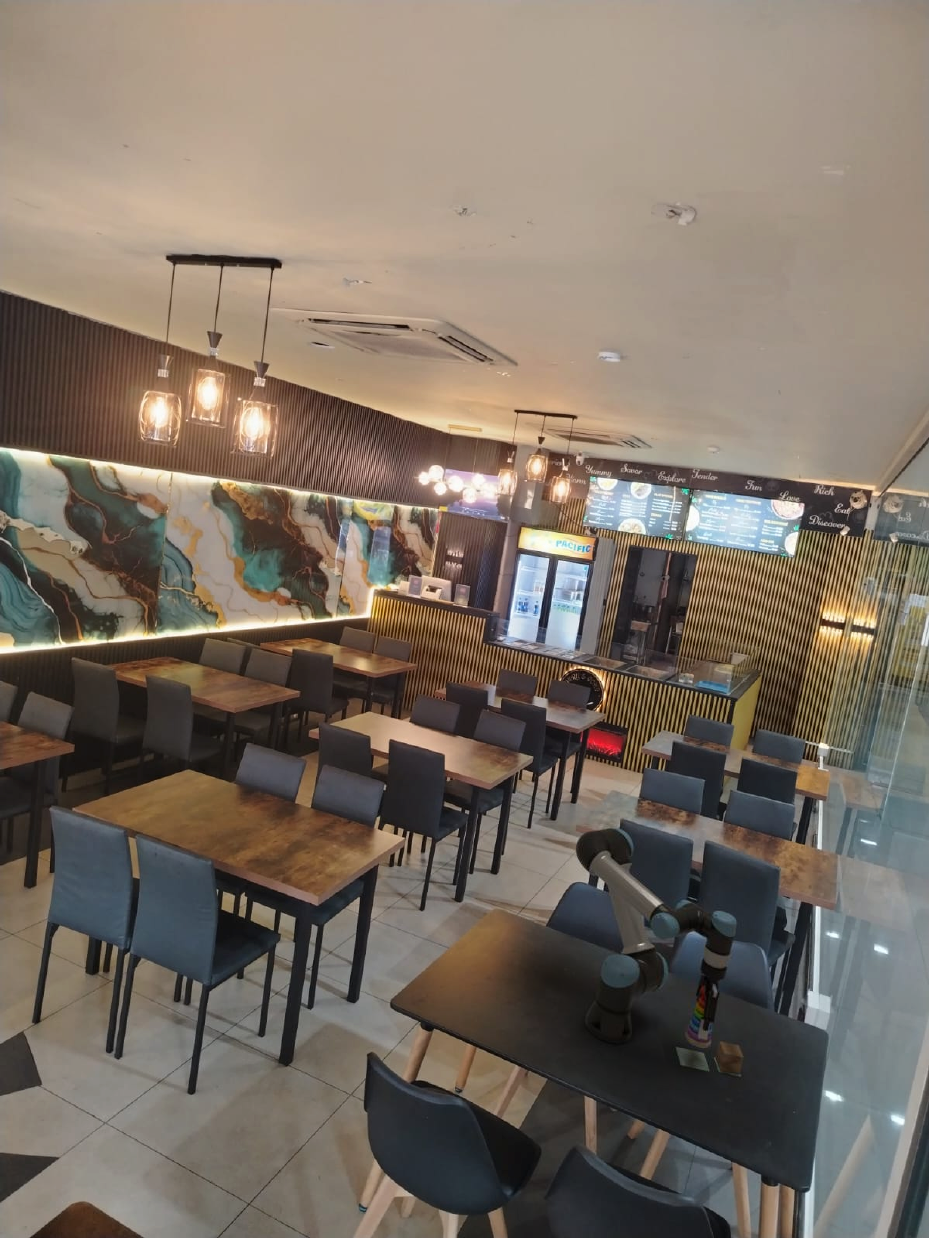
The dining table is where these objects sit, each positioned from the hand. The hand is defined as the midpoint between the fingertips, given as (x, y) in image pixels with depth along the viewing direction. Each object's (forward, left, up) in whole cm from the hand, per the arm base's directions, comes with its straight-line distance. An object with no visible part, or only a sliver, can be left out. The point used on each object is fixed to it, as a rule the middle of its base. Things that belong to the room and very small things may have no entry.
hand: (699, 1030), depth 251 cm
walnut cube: (+11, 0, -10) cm, 15 cm away
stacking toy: (0, 0, -4) cm, 4 cm away
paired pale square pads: (+4, 0, -11) cm, 12 cm away
